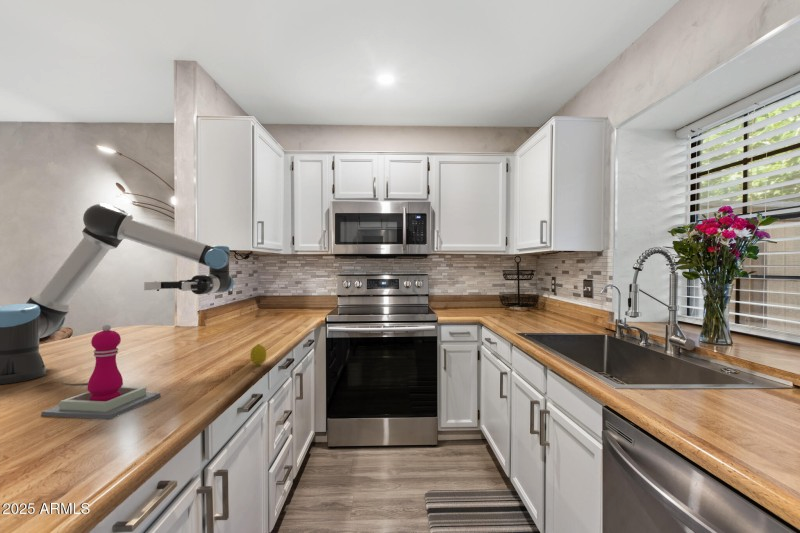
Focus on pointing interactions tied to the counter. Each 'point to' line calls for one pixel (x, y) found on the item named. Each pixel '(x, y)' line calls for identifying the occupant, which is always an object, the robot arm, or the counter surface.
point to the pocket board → (101, 404)
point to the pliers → (74, 384)
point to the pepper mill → (105, 366)
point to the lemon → (258, 354)
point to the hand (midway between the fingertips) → (163, 286)
